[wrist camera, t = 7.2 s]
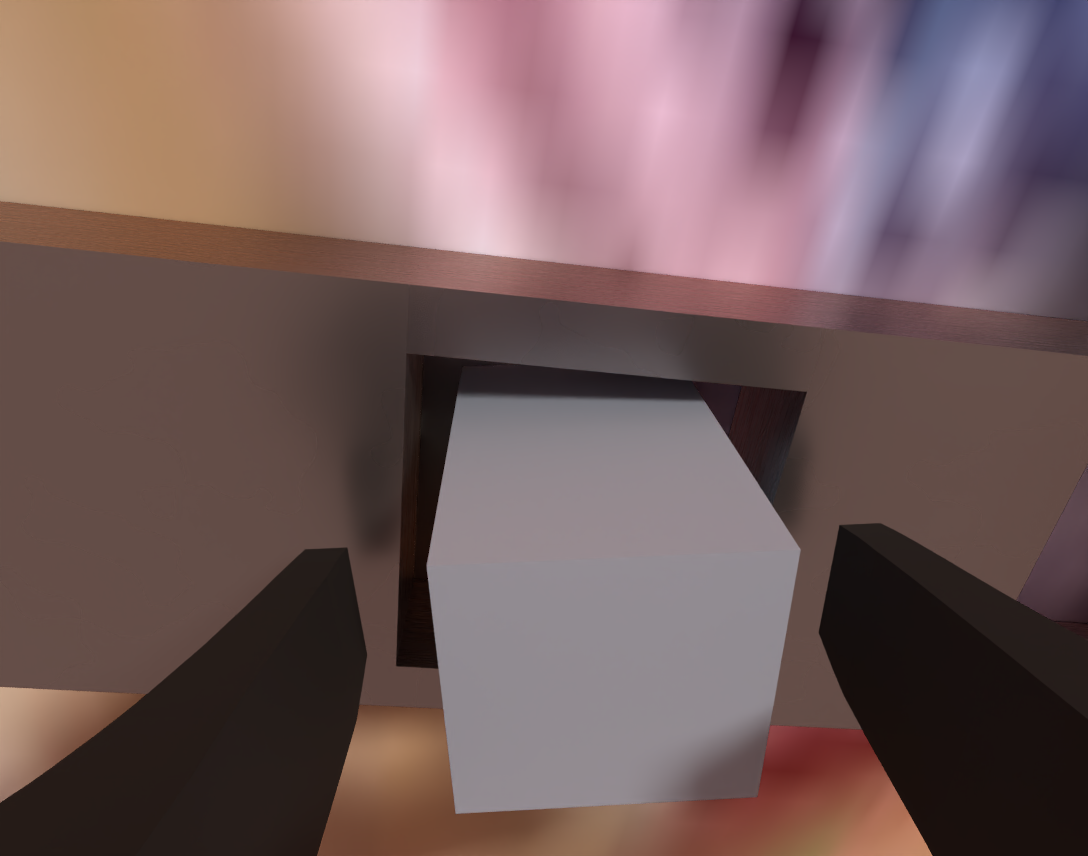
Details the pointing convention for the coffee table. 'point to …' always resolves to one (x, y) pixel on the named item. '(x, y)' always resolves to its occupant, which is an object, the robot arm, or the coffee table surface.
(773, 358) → the rail
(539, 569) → the peg
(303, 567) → the robot arm
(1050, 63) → the coffee table surface
